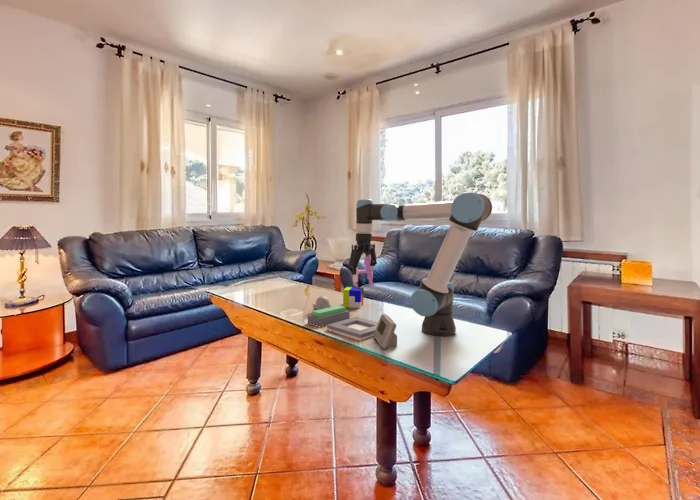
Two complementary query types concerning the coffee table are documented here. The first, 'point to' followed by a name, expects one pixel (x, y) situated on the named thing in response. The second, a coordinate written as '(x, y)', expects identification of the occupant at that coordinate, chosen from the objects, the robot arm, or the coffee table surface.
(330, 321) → the button housing
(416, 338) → the coffee table surface
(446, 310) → the robot arm
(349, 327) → the grey flat square frame
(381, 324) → the digital clock
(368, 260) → the toy chair
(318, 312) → the bar
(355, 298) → the puzzle toy
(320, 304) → the chubby cartoon animal
